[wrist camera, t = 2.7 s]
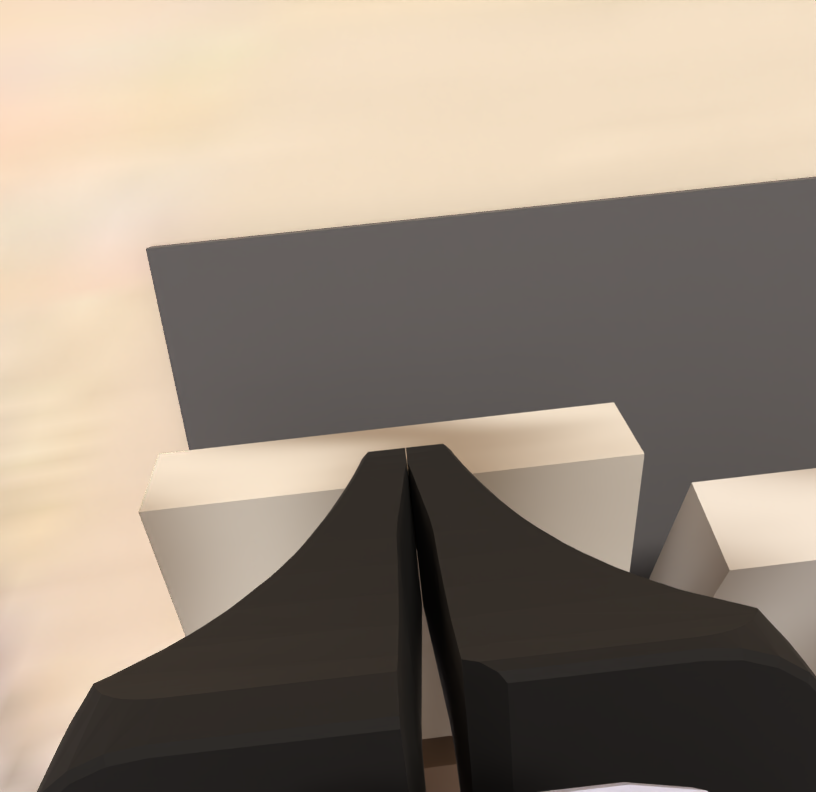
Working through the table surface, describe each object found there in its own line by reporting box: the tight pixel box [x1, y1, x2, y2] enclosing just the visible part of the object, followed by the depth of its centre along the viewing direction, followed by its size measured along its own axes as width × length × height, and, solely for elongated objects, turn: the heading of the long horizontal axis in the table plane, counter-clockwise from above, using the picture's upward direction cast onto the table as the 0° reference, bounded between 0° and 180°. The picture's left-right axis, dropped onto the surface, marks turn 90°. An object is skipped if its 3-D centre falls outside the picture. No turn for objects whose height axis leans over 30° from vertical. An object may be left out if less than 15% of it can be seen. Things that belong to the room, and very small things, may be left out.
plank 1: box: [139, 402, 644, 739], centre depth 14 cm, size 8×7×2 cm
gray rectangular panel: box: [146, 177, 816, 579], centre depth 15 cm, size 17×11×1 cm, turn 96°
